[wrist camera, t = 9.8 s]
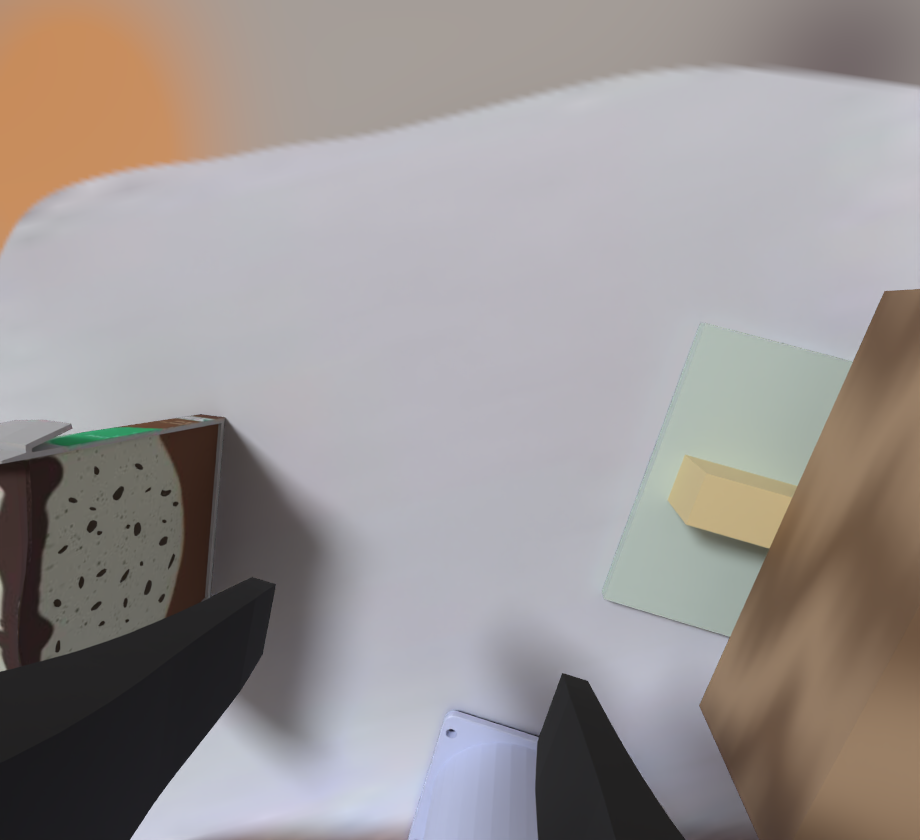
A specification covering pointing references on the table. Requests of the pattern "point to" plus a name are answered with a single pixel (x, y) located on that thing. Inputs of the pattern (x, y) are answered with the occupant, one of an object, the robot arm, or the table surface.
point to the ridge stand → (722, 476)
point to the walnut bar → (838, 620)
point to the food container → (102, 530)
